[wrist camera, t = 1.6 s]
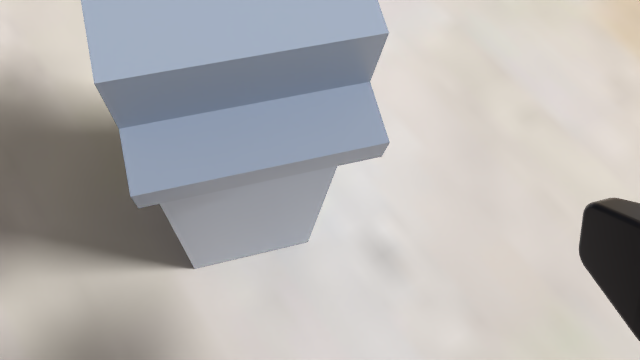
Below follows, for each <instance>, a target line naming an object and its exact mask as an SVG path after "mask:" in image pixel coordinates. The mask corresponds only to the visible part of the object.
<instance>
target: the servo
mask: <svg viewBox="0 0 640 360" xmlns="http://www.w3.org/2000/svg"><path fill="white" fill-rule="evenodd" d="M81 4H82V10H83V16H84V22H85V29H86V35H87V41H88V47H89V54H90V60H91V66H92V72H93V78H94V84H95V86H96V88H97V89H98V91H99V93H100V95H101V97H102V99H103V100H104V102H105V104H106V106H107V108H108V110H109V112H110V113H111V115H112V117H113V119H114V121H115V123H116V125H117V126H118V128H119V133H120V139H121V145H122V150H123V156H124V162H125V168H126V174H127V180H128V186H129V191H130V197H131V198H132V200H133V201H134V203H135V204H136V206H137V207H138V208H143V207H147V206H152V205H157V204H160V206H161V208H162V210H163V211H164V213H165V215H166V217H167V219H168V221H169V222H170V224H171V226H172V228H173V230H174V232H175V234H176V235H177V237H178V239H179V241H180V243H181V245H182V246H183V248H184V250H185V252H186V254H187V256H188V258H189V259H190V261H191V263H192V265H193V267H194V269H196V268H200V267H205V266H209V265H213V264H217V263H221V262H226V261H230V260H234V259H238V258H243V257H247V256H251V255H255V254H259V253H264V252H268V251H272V250H276V249H281V248H285V247H289V246H293V245H297V244H302V243H306V242H308V240H309V238H310V235H311V232H312V230H313V227H314V225H315V222H316V219H317V217H318V214H319V212H320V209H321V207H322V204H323V201H324V199H325V196H326V194H327V191H328V189H329V186H330V183H331V181H332V178H333V176H334V173H335V171H336V168H337V166H339V165H344V164H348V163H353V162H358V161H363V160H367V159H372V158H377V157H381V156H382V155H383V153H384V151H385V150H386V148H387V146H388V144H389V143H390V142H389V139H388V136H387V133H386V130H385V127H384V124H383V121H382V117H381V114H380V111H379V108H378V105H377V102H376V99H375V96H374V93H373V90H372V87H371V83H370V80H371V78H372V75H373V73H374V70H375V67H376V65H377V62H378V60H379V57H380V54H381V52H382V49H383V47H384V44H385V42H386V39H387V36H388V34H389V32H388V29H387V26H386V23H385V20H384V17H383V14H382V11H381V9H380V6H379V3H378V0H81Z"/></svg>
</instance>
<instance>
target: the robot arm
mask: <svg viewBox="0 0 640 360" xmlns="http://www.w3.org/2000/svg"><path fill="white" fill-rule="evenodd" d="M579 255H580V258H581V261H582V263H583V265H584V266H585V268H586V269H587V270H588V272H589V273H590V274H591V276H592V277H593V279H594V280H595V281H596V283H597V284H598V285H599V287H600V288H601V290H602V291H603V292H604V294H605V295H606V296H607V298H608V299H609V301H610V302H611V303H612V305H613V306H614V307H615V309H616V310H617V312H618V313H619V314H620V316H621V317H622V318H623V320H624V321H625V323H626V324H627V325H628V327H629V328H630V329H631V331H632V332H633V333H634V335H635V336H636V337H637V339H638V340H639V341H640V203H636V202H632V201H627V200H623V199H619V198H608V199H604V200H600V201H596V202H592V203H590V204H588V205H587V206H586V208H585V210H584V213H583V220H582V227H581V235H580V243H579Z"/></svg>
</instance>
